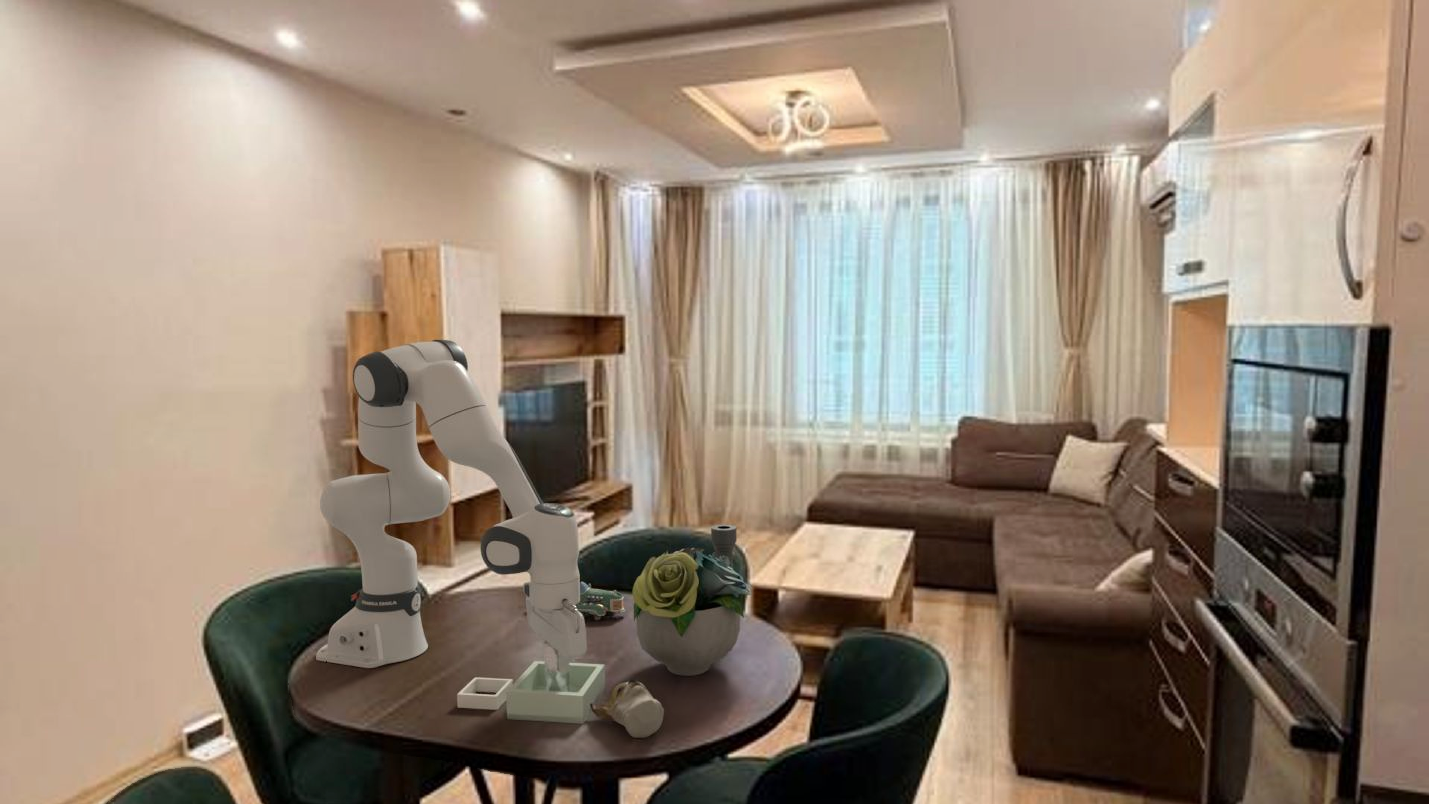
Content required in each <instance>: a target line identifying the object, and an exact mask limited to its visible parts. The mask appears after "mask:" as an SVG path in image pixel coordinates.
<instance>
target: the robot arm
mask: <svg viewBox="0 0 1429 804" xmlns="http://www.w3.org/2000/svg"><path fill="white" fill-rule="evenodd" d="M468 369H469V365H468V361H467V357H466V354H465V352H464V351H463V348H461V346H460V345H459V344H458V343H456V342H454V341H453V340H448V339H433V340H432V341H418V342H417V341H416V342H411V343H406V344H403V345H399V346H395V347H391V348H389V349H384V350H382V351H378V350H377V351H373V352H371V353H368V354H366V355H363V356H361V357H360V358H359V359H357V360H356V362H355V364H354V366H353V371H352V382H353V388H354V390H355V392H356V394H357V396H358V397H359V398H358V404H357V405H358V407H357V410H358V411H357V423H358V424H357V428H358V430H357V432H358V436H357V437H358V439H357V440H358V443H357V444H358V449H359V452H360V454H361V455H362V456H363V457H364V458H365V459H366V460H367V461H368V462H371V463H372V464H375V465H377V466H380V467H383V468H385V469H387V470H389V471H388V472H384V473H383V472H382V473H381V472H380V473H371V474H370V473H369V474H368V473H367V474H355V475H354V474H353V475H350V476H346V477H341V478H338V479H334V480H331V481H329V482H328V483H327V485H326V486H325V487H324V489H323V490H322V493H321V496H320V500H319V507H320V512H321V515H322V516H323V518H324V520H325V521H326V522H327V523H328V524H329V525H331V526H332V527H333V528H335V529H338V530H339V531H340V532H342V533H344V535H345V536H346V537H347V538H348V539H349V540H350V541H351V543H352V544H353V546H354V547H355V549H356V551H357V554H358V557H359V562H360V569H361V582H362V588H361V589H358V590H357V591H356V593H354V594H353V595H352V594H351V596H350V598H351V601H352V602H353V601H354V600H356V603H355V605H354V607H353V608H352V609H350V610H349V611H347V613H345V614H344V615H343V616H342V617H341V618H339V619H338V620H337V621H336V622H335V623H333V625H332V626H331V627H330V629H329V633H328V637H327V644H325V645H323V646H322V647H321V648H320V649H318V650H317V652H316V655H315V660H316V661H320V662H326V661H327V663H334V664H339V665H344V666H345V665H346V666H353V667H357V668H358V667H359V668H364V669H374V668H378V667H380V666H381V667H382V666H384V665H388V664H393V663H398V662H403V661H407V660H410V659H413V658H415V657H417V656H420V655H422V654H423V653H424V652H426V650H427V649H428V647H429V643H428V642H427V639H426V636H425V633H424V628H423V625H422V624H423V623H422V619H421V604H422V603H421V601H422V600H421V585H420V583H419V581H418V580H419V579H418V578H419V577H418V576H419V575H418V557H417V551H416V549H415V547H414V546H413V545H412V544H411V543H409V542H407V541H405V540H403V539H399V538H396V537H394V536H391V535H389V534H387V533H386V531H385V527H386V526H388V525H395V524H404V523H415V522H422V521H426V520H429V519H433V518H436V517H440V516H442V515H443V514H444V513H445V512H446V510H447V508H448V507H449V504H450V501H451V487H450V485H449V483H448V481H447V479H446V477H444V475H443V474H441V473H440V472H438V471H436V470H435V469H433V468H432V467H431V466H429V465H428V464H427V463H426V462H425V461H424V459H423V458H422V455H421V454H420V451H419V447H418V443H417V442H418V441H417V405H419V406H420V408H421V411H422V414H423V416H424V419H425V422H426V424H427V426H428V429H429V432H430V434H431V436H432V438H433V441H434V443H435V445H436V447H437V448H438V450H439V451H440V453H441V454H442V456H444V458H446V459H447V460H449V461H450V462H453V463H455V464H457V465H461V466H465V467H469V468H472V469H475V470H477V471H480V472H482V473H484V474H486V475H487V476H488V477H490V479H492V481H493V482H494V483H495V485H496V487H497V489H498V490H499V492H500V494H501V496H502V498H503V500H504V502H505V503H506V505H507V507H508V509H509V511H510V514H511V515H512V516H511V517H512V518H509V519H507V520H504V521H501V522H500V523H497V524H494V525H492V527H490V528H488V529H487V530H486V531H485V532H484V533H483V535H482V537H481V540H480V555H481V558H482V560H483V563H484V564H485V565H486V567H487V568H488V569H489V570H491V572H493V573H495V574H498V575H503V576H504V575H516V574H517V575H518V574H521V573H528V574H529V578H530V579H529V580H530V581H527V582H524V583H523V584H522V585H523V586H522V588H523V589H522V590H523V593H524V595H525V596H526V597H525V606H526V607H525V608H526V609H525V610H526V617H527V623H528V626H529V629H530V630H532V632H534V633H535V634H537V636H539V637H540V638H541V643H542V646H543V648H544V643H545V642H547V643H549V644H550V645H551V646H552V647H553V648H555V649H556V650H557V651H558V655H559V662H557V670H558V671H559V672H560V673H561V674H563V673H567V672H568V671H569V663H571V660H575V659H579V658H583V657H585V656H586V654H587V652H588V644H587V643H588V642H587V631H586V623H585V622H586V621H585V617H583V615H582V614H581V613H580V611H578V610H577V607H576V606H575V605H576V604H577V603H579V601H580V583H581V582H580V580H581V579H580V578H581V577H580V570H579V567H578V560H579V555H580V541H579V529H578V528H579V527H578V522H577V518H576V515H575V512H574V511H573V510H572V509H571V508H570V507H568V506H565V505H563V504H560V503H554V502H552V503H551V502H549V503H548V502H544V500H542V498H541V496H540V495H539V493H538V491H537V489H536V488H535V485H534V484H533V482H532V480H531V478H530V476H529V475H528V473H527V470H526V469H525V467H524V465H523V463H522V462H521V459H520V458H519V456H518V454H517V453H516V451H515V449H514V448H513V447H512V446H511V444H510V443H509V442H508V440H507V439H506V438H505V437H504V436H503V435H502V433H501V432H500V430H499V429H498V426H497V425H496V423H495V422H494V419H493V417H492V415H491V413H490V412H489V409H488V407H487V404H486V402H485V399H484V397H483V395H482V393H481V391H480V390H479V388H478V386H477V385H476V383H475V381H474V379H473V378H472V376H471V375H470V373H469V372H468Z"/></svg>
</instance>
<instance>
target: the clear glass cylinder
mask: <svg viewBox="0 0 1429 804" xmlns="http://www.w3.org/2000/svg"><path fill="white" fill-rule="evenodd" d="M543 650H544V652H543V653H544V661H545V691H557V692H569V690H570V689H569V671H568V672H567V673H563V674H561V673H560V672H559V671H558V670H557V662H559V655H558V651H557V650H556V649H555V648H553V647H552V646H551V645H550V644H549V643H547V642H545V643H544V647H543Z"/></svg>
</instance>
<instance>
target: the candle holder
mask: <svg viewBox="0 0 1429 804" xmlns="http://www.w3.org/2000/svg"><path fill="white" fill-rule="evenodd" d="M737 530H738V529H737V526H736V525H733V524H716V525H712V526H711V527H710V538H711V539H710V541H711V543H712V547H714V548H713V549H714V550H715V551H714V552H713V553H712V554H711V556H712V555H713V556H715V557H716V558H717V559H718V558H719V557H720V556H721V557H722V559H723V560H724V558H723V556H727V557H728V558H729V561H730V565H729V567H730V568H732V570H734V569H733V565H734V564H733V563H734V561H733V560H734V559H735V558H736V553H735V552H734V551H733V550H734V548H735V546H736V542H737V536H738V535H737V532H738V531H737ZM736 597H738V598H739V595H737V596H736Z"/></svg>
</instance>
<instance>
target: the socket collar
mask: <svg viewBox="0 0 1429 804" xmlns="http://www.w3.org/2000/svg"><path fill="white" fill-rule="evenodd" d="M513 684H514V679H512V678H496V677H495V678H494V677H474V678H473V679H472V680H470V681H469V682H468V683H467V684H466V685H465V686H464V687H463V688H462V689H461V690H460V691H459V692H457V694H456V696H457V697H456V701H457V705H456V706H457V708H459V709H461V708H463V709H476V710H495V711H497V710H499V708H500V707H501V706H502V705H503V704H504V703H505V702H506V691H507V690H508V689H509V688H510V687H511V686H512V685H513ZM477 692H479V693H480V694H479V693H477ZM483 692H484V693H483ZM482 693H483V694H482ZM485 693H496V694H485Z"/></svg>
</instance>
